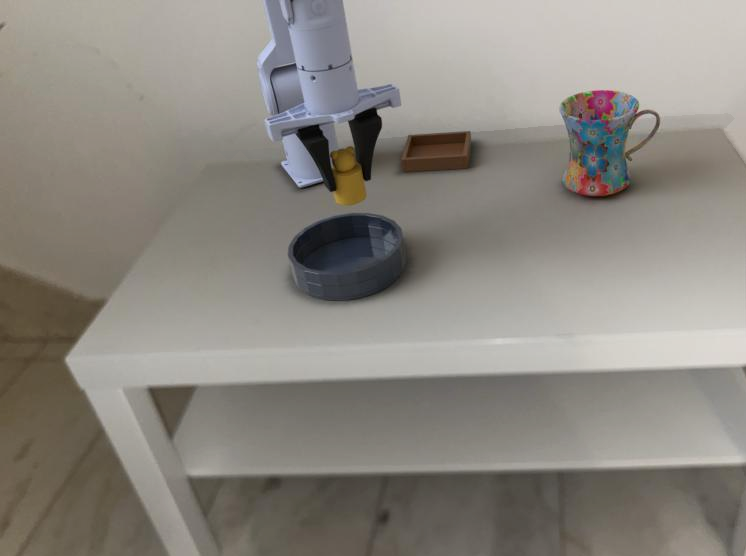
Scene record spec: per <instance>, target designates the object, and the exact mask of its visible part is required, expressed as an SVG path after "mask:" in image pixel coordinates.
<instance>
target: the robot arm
mask: <svg viewBox="0 0 746 556" xmlns="http://www.w3.org/2000/svg"><path fill="white" fill-rule="evenodd" d="M262 4H263V8H264V13H265V16H266V22H267V25H268V26H267V27H268V30H269V35H270V41H269V42H268V43H267V45H266V46H265V47H264V49H262V51H260V54H259V55H258V56H257V60H256V61H257V62H256V68H257V72H258V79H259V84H260V89H261V92H262V96H263V97H262V98H263V100H264V103H265V107H266V109H267V110H266V111H267V112H268V114H269V115H270V117H267V118H263V119H264V120H263V121H264V123H265V124H264V125H265V129H266V133H267V136H268V138H269V139H270V140H271V141H272V142H273V143H277V142H281V141H282V144H283V149H284V153H285V158H286V160H282V161H281V162H280V165H281V167H282V168H283V170H284V171H285V172H286V173H287V175H288V176H289V177H290V178H291V179H292V180H293V182H294V183H295V184H296V186H297V187H298V188H300V189H302V188H306V187H309V186H313V185H315V184H320V183H322V182H323V183H324V186H325V188H326V189H327V190H328V191H329V192H330V193H334V192H333V191H336V183H335V179H334V175H333V171H332V167H333V164H332V159H331V157H330V153H331V152H332V151H337V150H339V149H340V148H339V143H338V137H337V132H336V126H335V123H336V124H343V123H345V122H347V123H348V127H349V131H350V133H351V138H352V141H353V142H352V143H353V148H354V150H355V152H354V156H355V159H356V163H359V164H360V165H361V167H362V172H363V178H364V182H368V181H371V180H372V166H373V158H374V152H375V149H376V145H377V141H378V138H379V135H380V133H381V131H382V129H383V119H382V117H381V116H380V114H378V111H379V110H383V109H385V108H389V107H390V108H392V109H393V108H394V109H395V108H398V107H401V106H402V100H401V92H400V88H399V87H398V86H396V85H395V84H393V83H388V84H385V85H384V84H383V85H381V86H373V87H366V88H360V89H359V87H358V82H357V77H356V76H357V75H356V71H355V64H354V60H353V53H352V46H351V42H350V35H349V30H348V23H347V18H346V12H345V6H344V0H262Z"/></svg>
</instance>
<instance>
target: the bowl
mask: <svg viewBox="0 0 746 556" xmlns="http://www.w3.org/2000/svg"><path fill="white" fill-rule="evenodd" d="M405 245H406V244H405V240H404V234H403V229H402V227H401V226H400V225H399V224H398V223H397V222H396V221H395V220H394V219H391V218H390V217H387V216H385V215H382V214H376V213H371V212H349V213H344V214H343V213H342V214H337V215H332V216H330V217H327V218H324V219H320V220H317V221H315V222H314V223H312V224H310V225H308V226H306V227H304V228H303V229H302V230H300V231H299V232H298V233H297V234H296V235H295V236H294V237H293V238H292V240H291V242H290V243H289V244H288V247H287V258H288V263H289V265H290V266H289V267H290V270H291V274H292V277H293V279H294V282H295V284H296V286H297V287H298V289H299V290H300V291H302V292H303V293H304V294H306V295H308V296H309V297H312V298H314V299H319V300H324V301H333V302H334V301H348V300H350V301H351V300H357V299H360V298H365V297H368V296H371V295H373V294H376V293H379V292H381V291H383V290H385V289H386V288H388V287H390V286H391V285H392V284H394V283H395V282H396V281H397V280H398V279H400V277H401V276H402V274H403V273H404V271H405V270H406V266H407V251H406V246H405Z"/></svg>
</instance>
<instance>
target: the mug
mask: <svg viewBox="0 0 746 556" xmlns="http://www.w3.org/2000/svg"><path fill="white" fill-rule="evenodd" d="M558 108H559V109H558V110H559V113H560V116H561V117H562V120H563V122H564V125H565V128H566V131H567V136H568V140H569V159H568V164H567V167H566V170H565V172H564V174H563V176H562V183H563V185H564V186H565V188H566V189H567V190H568V191H571V192H573V193H575V194H578V195H582V196H587V197H603V196H610V195H613V194H616V193H619V192H621V191H623V190H625V189H626V188H627V187H628V186H629V185H630V183H631V182H632V175H631V172H630V170H629V167H628V163H627V161H629V162H632V161H633V158H632V157H631V155H633V154H634V153H635V152H637V151H639V150H641V149H642V148H643V147H645V146H646V145H647V144H648V143H649V142H650V141H651V140H652V139H653V138H654V136H655V135H656V133H657V132H658V130H659V127H660V125H661V117H660V114H659V113H658V112H657V111H655V110H653V109H642V110H640V111H639V109H640V102H639V100H638V99H637V98H636V97H634V95H631V94H629V93H627V92H623V91H617V90H611V89H609V90H608V89H599V90H587V91H582V92H578V93H576V94H573V95H570V96H568V97H567V98H565V99H564V100H562V102H561V103H560V104H559V107H558ZM644 115H653V116H654V117H655V119H656V121H655V125H654V127H653V128H652V130H651V131H650V133H649V134H648V135H647V136H646V138H644V139H643V140H642V141H641V142H640V143H638V144H637V145H634V147H632V148H631V149H629V150H627V151H626V148H627V141H628V135H629V131H630V130H632V128H633V125H634V123H635V121H637V120H638V119H639V118H640V117H642V116H644Z"/></svg>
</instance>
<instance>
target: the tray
mask: <svg viewBox="0 0 746 556" xmlns="http://www.w3.org/2000/svg"><path fill="white" fill-rule="evenodd" d="M471 150H472V131H471V130H467V131H466V130H465V131H449V132H432V133H416V134H408V135H407V138H406V141H405V145H404V149H403V152H402V154H401V155H402V156H401V159H400V163H401V169H402V173H413V172H428V171H430V172H431V171H445V170H446V171H449V170H463V169H469V165H470V157H471Z"/></svg>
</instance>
